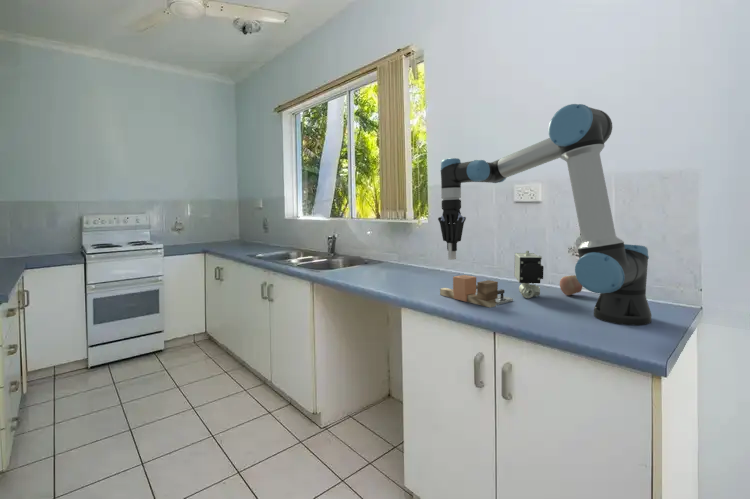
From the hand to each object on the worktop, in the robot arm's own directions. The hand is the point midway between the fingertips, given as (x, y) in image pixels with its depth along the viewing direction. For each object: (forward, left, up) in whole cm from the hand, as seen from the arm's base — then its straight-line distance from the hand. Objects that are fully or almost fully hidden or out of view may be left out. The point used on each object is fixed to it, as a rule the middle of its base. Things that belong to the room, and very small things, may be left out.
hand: (452, 259), depth 157 cm
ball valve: (-20, -20, -15) cm, 32 cm away
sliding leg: (-9, 0, -14) cm, 17 cm away
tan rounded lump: (-29, -34, -15) cm, 47 cm away
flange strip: (-10, -5, -14) cm, 18 cm away
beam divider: (-10, 0, -14) cm, 17 cm away
